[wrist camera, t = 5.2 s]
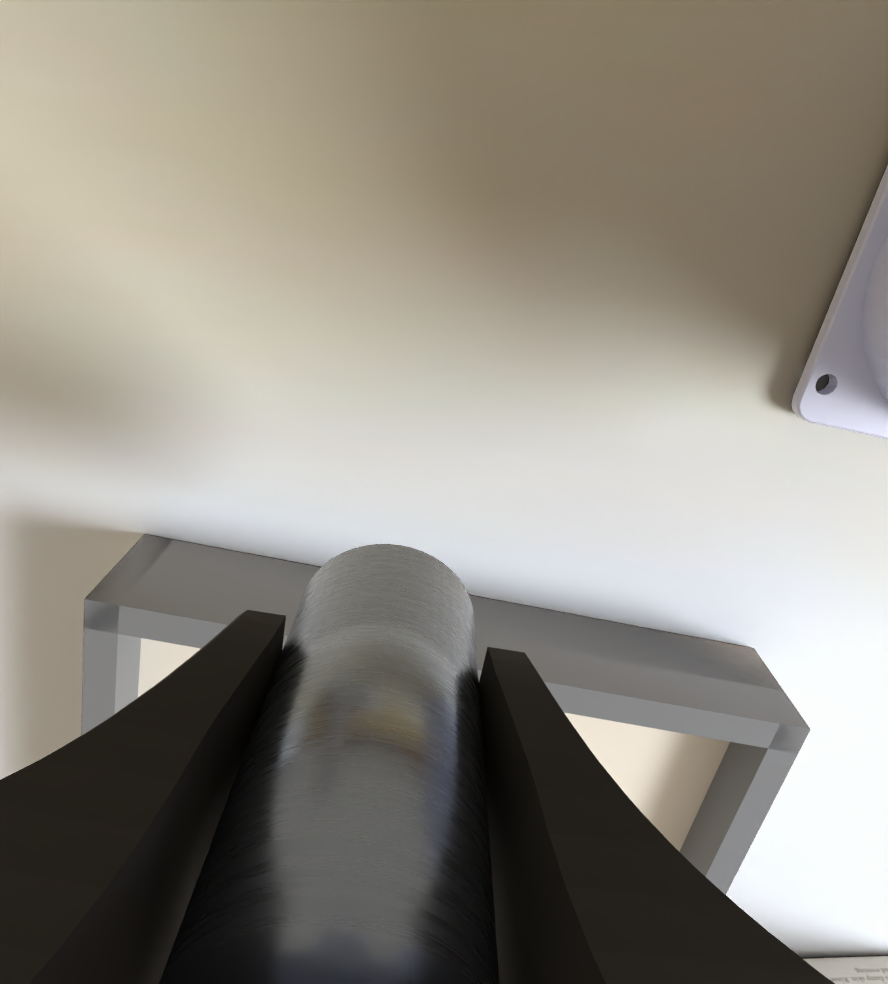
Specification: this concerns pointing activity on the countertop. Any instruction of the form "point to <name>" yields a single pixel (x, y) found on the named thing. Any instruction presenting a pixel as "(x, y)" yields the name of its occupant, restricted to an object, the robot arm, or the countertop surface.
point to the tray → (538, 632)
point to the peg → (356, 797)
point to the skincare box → (853, 969)
